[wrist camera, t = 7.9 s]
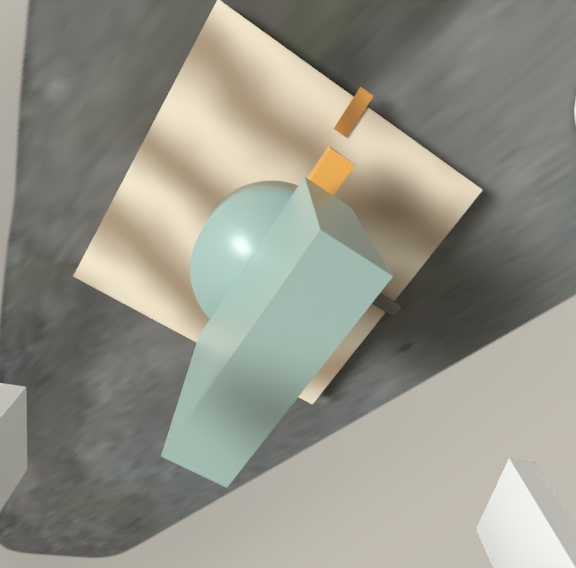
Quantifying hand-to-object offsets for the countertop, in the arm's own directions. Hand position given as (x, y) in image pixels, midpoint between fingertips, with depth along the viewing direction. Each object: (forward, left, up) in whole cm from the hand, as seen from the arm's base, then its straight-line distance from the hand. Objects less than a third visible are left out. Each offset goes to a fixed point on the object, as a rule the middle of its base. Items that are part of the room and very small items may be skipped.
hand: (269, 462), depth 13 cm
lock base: (0, 0, -25) cm, 25 cm away
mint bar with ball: (-1, 0, -19) cm, 19 cm away
